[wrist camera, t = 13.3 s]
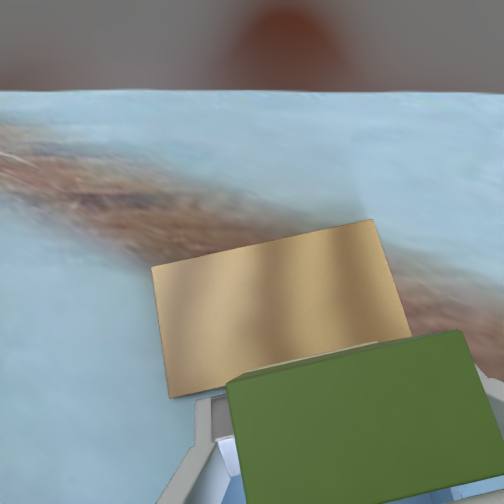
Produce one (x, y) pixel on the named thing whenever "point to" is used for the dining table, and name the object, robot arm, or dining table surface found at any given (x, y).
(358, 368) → the block
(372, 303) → the board
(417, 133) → the dining table surface
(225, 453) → the robot arm
